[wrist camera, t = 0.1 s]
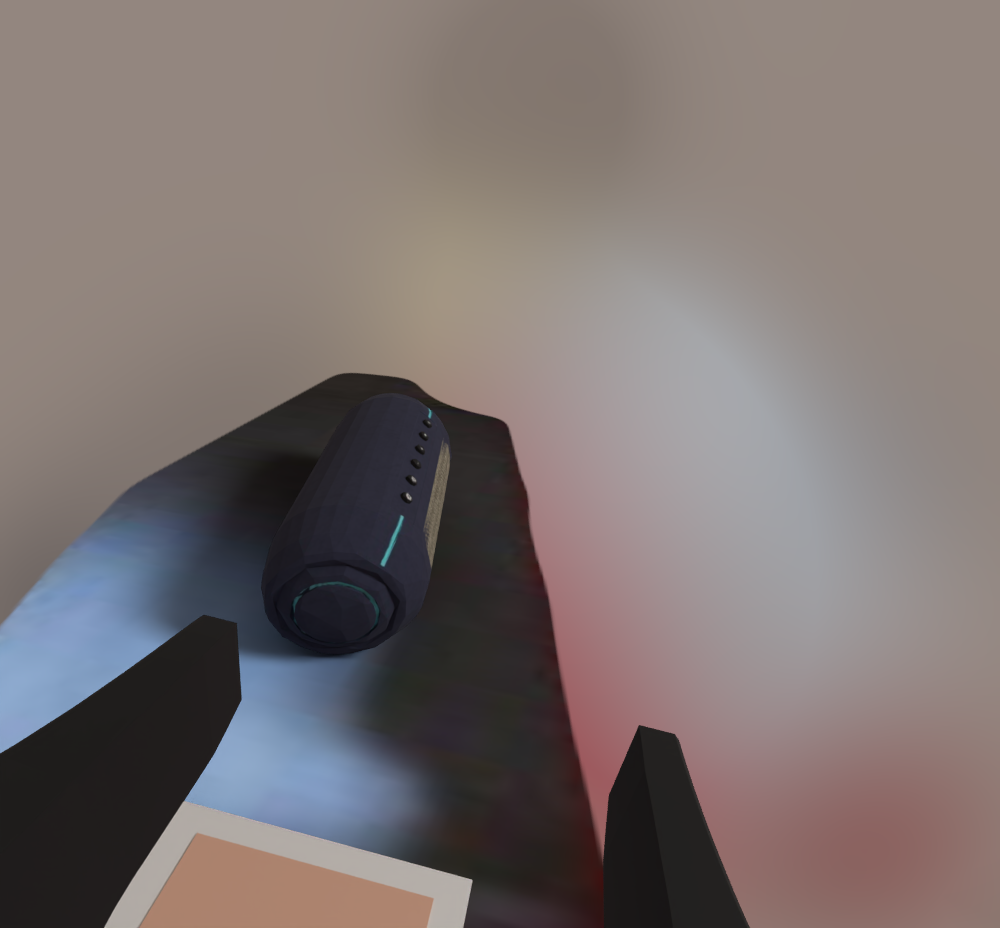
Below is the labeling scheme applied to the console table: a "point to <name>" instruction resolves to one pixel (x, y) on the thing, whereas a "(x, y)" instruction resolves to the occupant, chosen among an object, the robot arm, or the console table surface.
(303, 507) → the portable speaker
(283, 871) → the mat
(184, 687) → the robot arm
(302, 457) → the console table surface
